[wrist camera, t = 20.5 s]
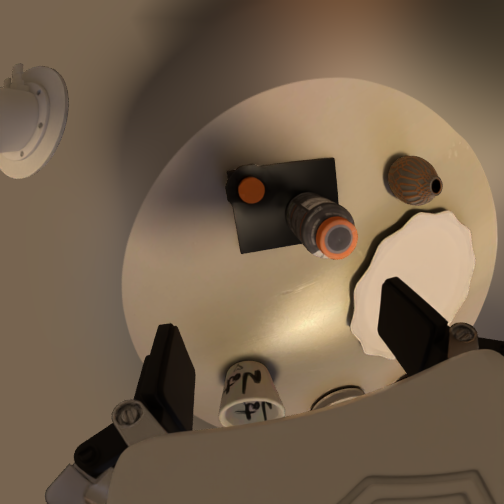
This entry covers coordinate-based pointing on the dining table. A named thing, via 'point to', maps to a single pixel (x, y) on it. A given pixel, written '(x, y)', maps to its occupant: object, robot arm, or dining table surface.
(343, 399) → the white thick round disc
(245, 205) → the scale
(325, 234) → the pill bottle
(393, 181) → the vase
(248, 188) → the button
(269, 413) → the mug
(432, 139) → the dining table surface
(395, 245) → the plate
